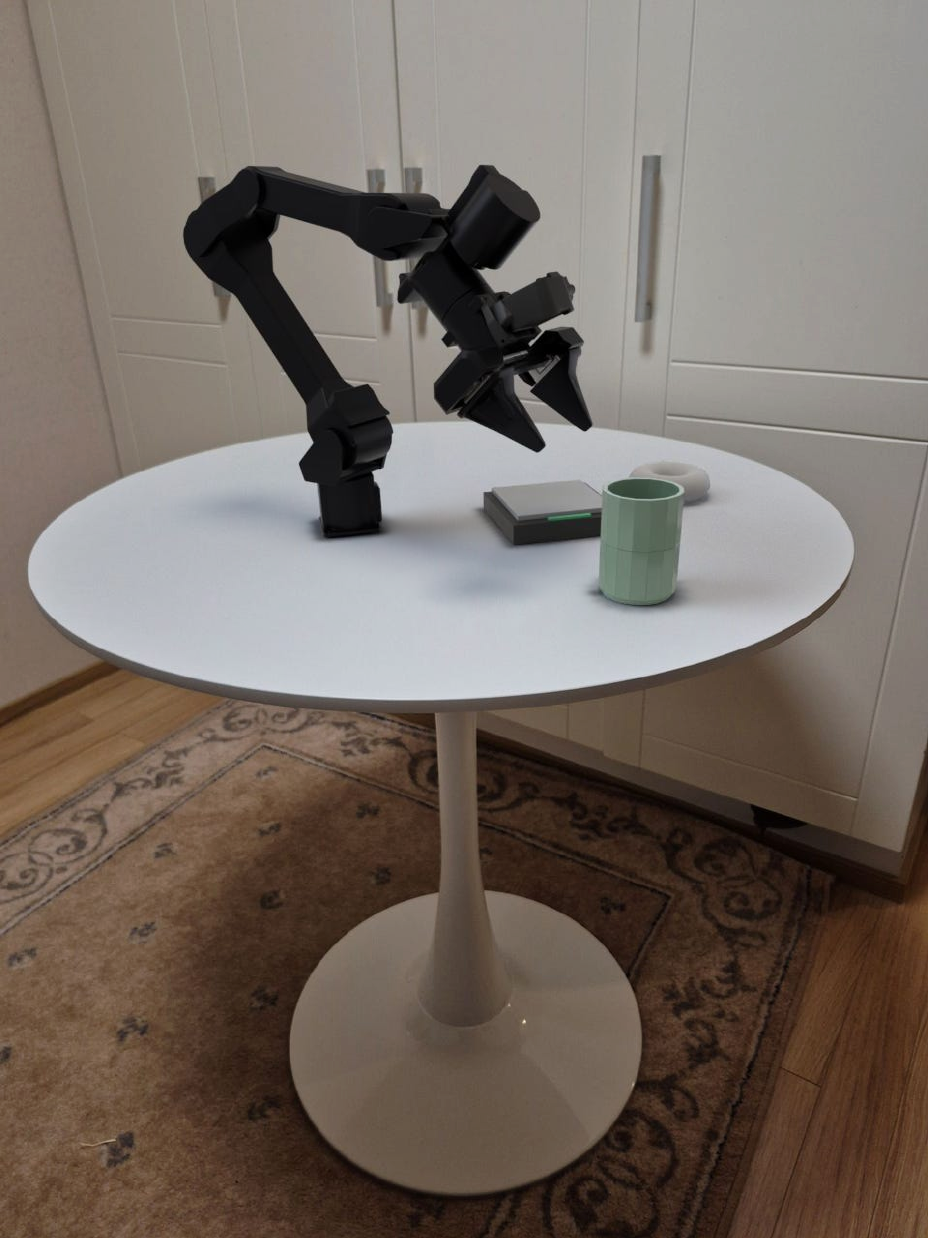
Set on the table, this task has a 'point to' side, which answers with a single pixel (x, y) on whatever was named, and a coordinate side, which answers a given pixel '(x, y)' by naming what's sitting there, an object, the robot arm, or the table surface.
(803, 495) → the table surface
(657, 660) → the table surface
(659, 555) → the pale green cup
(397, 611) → the table surface
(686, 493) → the donut
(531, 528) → the scale
